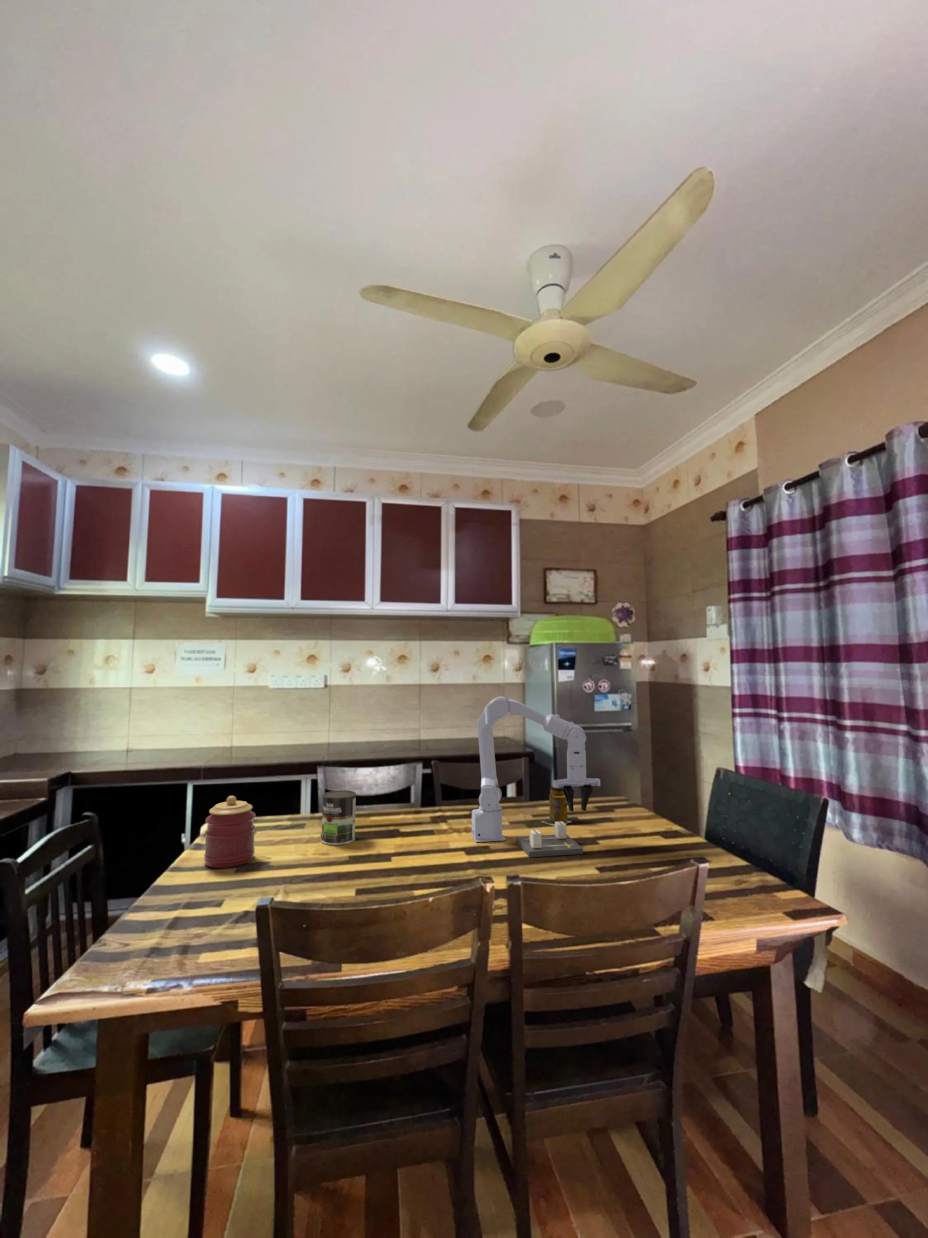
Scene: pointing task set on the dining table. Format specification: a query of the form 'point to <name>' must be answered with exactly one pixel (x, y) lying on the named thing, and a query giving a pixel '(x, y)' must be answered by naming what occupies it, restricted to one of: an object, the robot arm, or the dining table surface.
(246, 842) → the canister
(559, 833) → the fader far
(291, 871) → the dining table surface
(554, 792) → the condiment
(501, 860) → the dining table surface
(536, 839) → the fader near
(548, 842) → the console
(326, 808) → the coffee can
